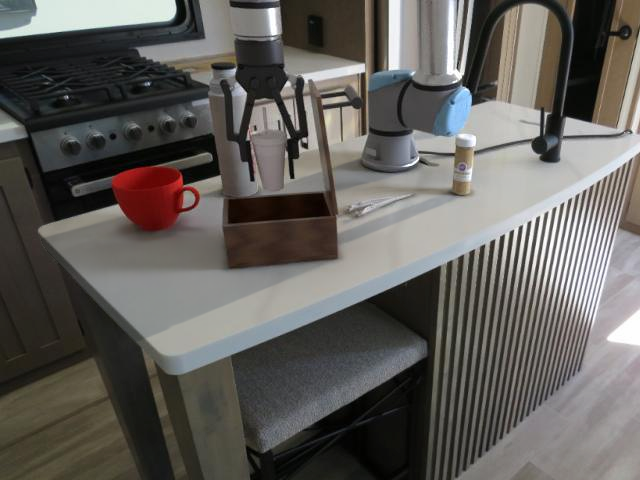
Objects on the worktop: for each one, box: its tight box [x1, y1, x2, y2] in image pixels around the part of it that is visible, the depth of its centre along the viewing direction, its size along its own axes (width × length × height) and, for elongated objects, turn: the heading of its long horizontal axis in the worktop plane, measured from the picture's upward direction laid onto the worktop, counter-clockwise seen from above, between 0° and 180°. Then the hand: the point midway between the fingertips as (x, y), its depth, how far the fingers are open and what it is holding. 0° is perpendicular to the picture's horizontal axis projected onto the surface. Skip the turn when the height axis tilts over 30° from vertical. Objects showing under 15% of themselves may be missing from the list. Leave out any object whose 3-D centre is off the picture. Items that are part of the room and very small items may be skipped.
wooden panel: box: [307, 78, 364, 216], centre depth 101 cm, size 21×13×8 cm
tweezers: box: [346, 193, 412, 218], centre depth 127 cm, size 17×5×2 cm, turn 132°
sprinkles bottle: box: [451, 133, 477, 196], centre depth 131 cm, size 5×5×13 cm
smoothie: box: [250, 106, 288, 193], centre depth 98 cm, size 6×6×14 cm
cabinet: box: [221, 190, 339, 269], centre depth 106 cm, size 20×13×8 cm, turn 104°
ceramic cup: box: [110, 166, 201, 232], centre depth 113 cm, size 13×17×10 cm
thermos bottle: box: [207, 61, 259, 197], centre depth 124 cm, size 8×8×28 cm
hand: (272, 177), depth 101 cm, fingers closed on smoothie, 6 cm apart
